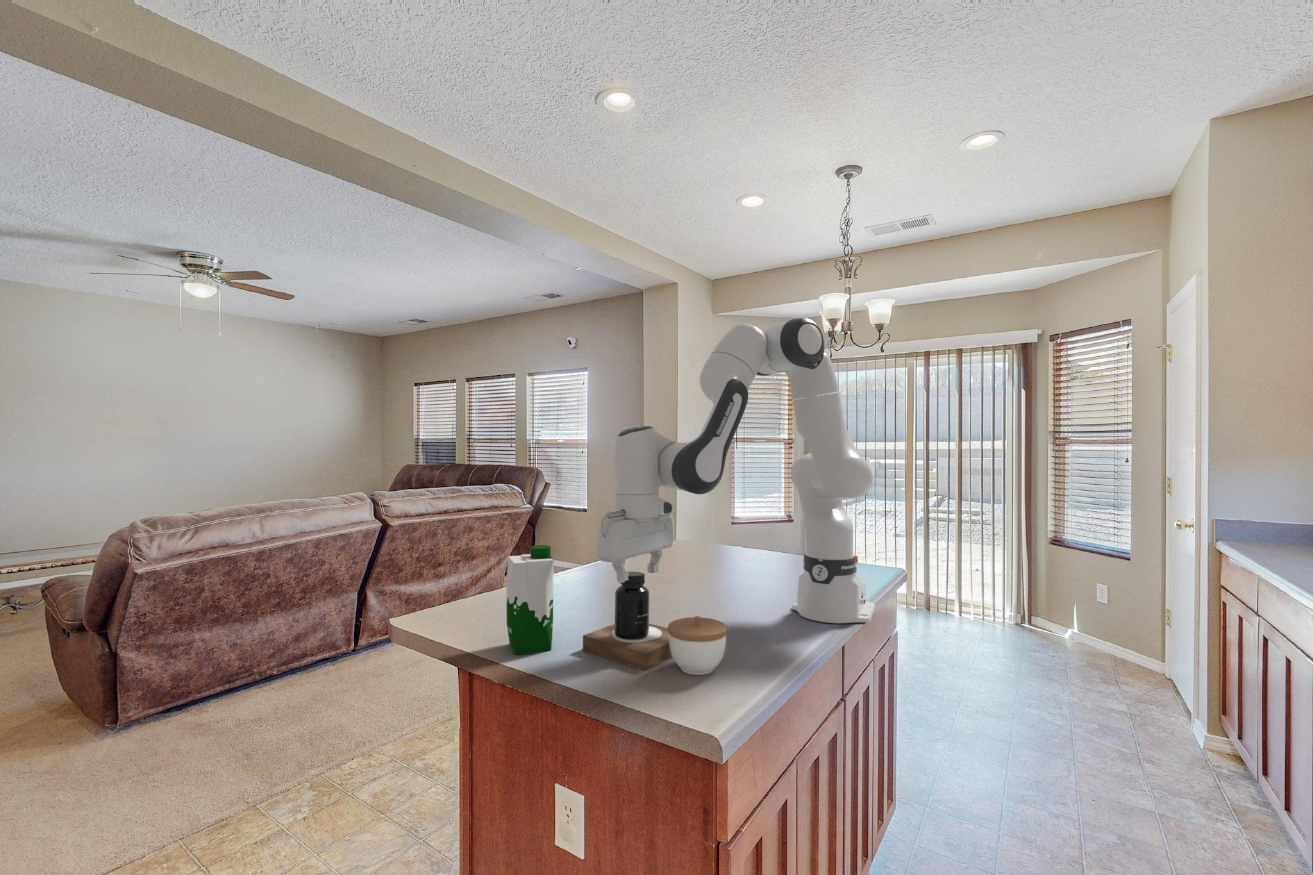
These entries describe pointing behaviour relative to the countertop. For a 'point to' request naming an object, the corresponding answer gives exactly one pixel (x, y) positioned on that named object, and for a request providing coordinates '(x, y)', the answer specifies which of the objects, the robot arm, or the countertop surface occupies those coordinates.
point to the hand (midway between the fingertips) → (638, 576)
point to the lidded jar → (697, 644)
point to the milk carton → (530, 600)
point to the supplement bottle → (632, 608)
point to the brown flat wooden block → (630, 646)
